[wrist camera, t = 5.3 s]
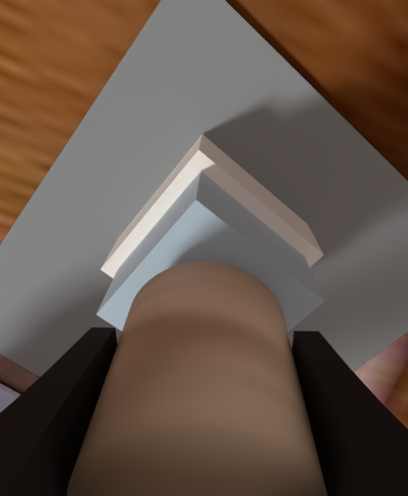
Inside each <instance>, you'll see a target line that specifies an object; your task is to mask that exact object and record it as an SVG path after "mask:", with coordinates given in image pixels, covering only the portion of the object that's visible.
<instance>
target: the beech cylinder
mask: <svg viewBox="0 0 408 496" xmlns="http://www.w3.org/2000/svg"><path fill="white" fill-rule="evenodd" d="M67 496H328V495H327V491H326V487H325V483H324V479H323V475H322V471H321V467H320V463H319V459H318V454H317V450H316V446H315V442H314V438H313V434H312V430H311V426H310V422H309V418H308V413H307V409H306V405H305V401H304V397H303V393H302V389H301V385H300V381H299V377H298V373H297V368H296V364H295V360H294V356H293V352H292V348H291V344H290V340H289V336H288V331H287V327H286V323H285V319H284V315H283V311H282V308H281V306H280V304H279V301H278V300H277V298H276V296H275V295H274V293H273V292H272V291H271V290H270V289H269V287H268V286H267V285H266V284H264V283H263V282H262V281H261V280H260V279H258V278H257V277H255V276H254V275H252V274H251V273H249V272H247V271H245V270H243V269H240V268H238V267H235V266H232V265H228V264H223V263H218V262H191V263H185V264H181V265H177V266H174V267H171V268H169V269H166V270H164V271H163V272H161V273H159V274H157V275H156V276H154V277H153V278H151V279H150V280H149V281H148V282H147V283H146V284H145V285H144V286H143V287H142V288H141V289H140V290H139V292H138V293H137V294H136V296H135V298H134V300H133V302H132V304H131V307H130V310H129V313H128V316H127V319H126V321H125V324H124V327H123V330H122V333H121V336H120V338H119V341H118V344H117V347H116V350H115V353H114V356H113V358H112V361H111V364H110V367H109V370H108V373H107V376H106V378H105V381H104V384H103V387H102V390H101V393H100V396H99V398H98V401H97V404H96V407H95V410H94V413H93V416H92V418H91V421H90V424H89V427H88V430H87V433H86V436H85V438H84V441H83V444H82V447H81V450H80V453H79V456H78V458H77V461H76V464H75V467H74V470H73V473H72V476H71V478H70V481H69V484H68V488H67Z"/></svg>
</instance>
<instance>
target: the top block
mask: <svg viewBox="0 0 408 496" xmlns="http://www.w3.org/2000/svg"><path fill="white" fill-rule="evenodd" d="M191 262H218V263H223V264H228V265H232V266H235V267H238V268H240V269H243V270H245V271H247V272H249V273H251V274H252V275H254V276H255V277H257V278H258V279H260V280H261V281H262V282H263V283H264V284H266V285H267V286H268V287H269V289H270V290H271V291H272V292H273V293H274V295H275V296H276V298H277V300H278V301H279V304H280V306H281V308H282V311H283V315H284V319H285V323H286V327H287V331H288V332H289V331H290V330H291V329H292V328H294V327H295V326H296V325H297V324H298V323H299V322H301V321H302V320H303V319H304V318H305V317H307V316H308V315H309V314H310V313H311V312H312V311H314V310H315V309H316V308H317V307H318V306H320V305H321V304H322V303H323V302H324V300H323V298H322V296H321V293H320V291H319V289H318V286H317V284H316V282H315V279H314V277H313V275H312V272H311V270H310V268H309V265H308V263H307V261H306V258H305V256H304V255H302V254H301V253H300V252H299V251H298V250H296V249H295V248H294V247H293V246H291V245H290V244H289V243H288V242H287V241H285V240H284V239H283V238H282V237H281V236H279V235H278V234H277V233H276V232H275V231H273V230H272V229H271V228H270V227H268V226H267V225H266V224H265V223H264V222H262V221H261V220H260V219H259V218H258V217H256V216H255V215H254V214H253V213H251V212H250V211H249V210H248V209H247V208H245V207H244V206H243V205H242V204H241V203H239V202H238V201H237V200H236V199H235V198H233V197H232V196H231V195H230V194H228V193H227V192H226V191H225V190H224V189H222V188H221V187H220V186H219V185H218V184H216V183H215V182H214V181H213V180H211V179H210V178H209V177H208V176H207V175H205V174H204V173H203V172H202V171H200V172H199V173H198V175H197V176H196V177H195V178H194V179H193V180H192V182H191V183H190V184H189V185H188V186H187V188H186V189H185V190H184V191H183V192H182V194H181V195H180V196H179V197H178V198H177V199H176V201H175V202H174V203H173V204H172V205H171V207H170V208H169V209H168V210H167V211H166V212H165V214H164V215H163V216H162V217H161V218H160V220H159V221H158V222H157V223H156V224H155V226H154V227H153V228H152V229H151V230H150V231H149V233H148V234H147V235H146V236H145V237H144V239H143V240H142V241H141V242H140V243H139V245H138V246H137V247H136V248H135V249H134V250H133V252H132V253H131V254H130V255H129V256H128V258H127V259H126V260H125V261H124V262H123V263H122V265H121V266H120V267H119V268H118V270H117V272H116V274H115V276H114V278H113V281H112V283H111V285H110V287H109V289H108V291H107V293H106V295H105V297H104V299H103V301H102V303H101V305H100V308H99V310H98V312H97V314H96V315H97V316H99V317H100V318H102V319H104V320H105V321H107V322H108V323H110V324H111V325H113V326H114V327H116V328H117V329H119V330H121V331H122V330H123V327H124V324H125V321H126V319H127V316H128V313H129V310H130V307H131V304H132V302H133V300H134V298H135V296H136V294H137V293H138V292H139V290H140V289H141V288H142V287H143V286H144V285H145V284H146V283H147V282H148V281H149V280H150V279H151V278H153V277H154V276H156V275H157V274H159V273H161V272H163V271H164V270H166V269H169V268H171V267H174V266H177V265H181V264H185V263H191Z"/></svg>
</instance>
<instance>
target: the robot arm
mask: <svg viewBox="0 0 408 496" xmlns="http://www.w3.org/2000/svg"><path fill="white" fill-rule="evenodd" d="M116 347H117V337H116V329H115V328H108V327H91V328H90V329H89V330H88V331H87V332H86V333H85V334H84V335H83V336H82V337H81V338H80V339H79V340H78V341H77V342H76V343H75V344H74V345H73V346H72V347H71V348H70V349H69V350H68V351H67V352H66V353H65V354H64V355H63V356H62V357H61V358H60V359H58V360H57V361H56V362H55V363H54V364H53V365H52V366H51V367H50V368H49V369H48V370H47V371H46V372H45V373H44V374H43V375H42V376H41V377H40V378H39V379H37V380H36V381H35V382H34V383H33V384H32V385H31V386H30V387H29V388H28V389H27V390H26V391H25V392H23V393H22V394H19V393H17V392H15V391H13V390H12V389H10V388H8V387H6V386H4V385H3V384H1V383H0V496H67V488H68V484H69V481H70V478H71V476H72V473H73V470H74V467H75V464H76V461H77V458H78V456H79V453H80V450H81V447H82V444H83V441H84V438H85V436H86V433H87V430H88V427H89V424H90V421H91V418H92V416H93V413H94V410H95V407H96V404H97V401H98V398H99V396H100V393H101V390H102V387H103V384H104V381H105V378H106V376H107V373H108V370H109V367H110V364H111V361H112V358H113V356H114V353H115V350H116ZM292 352H293V356H294V360H295V364H296V368H297V373H298V377H299V381H300V385H301V389H302V393H303V397H304V401H305V405H306V409H307V413H308V418H309V422H310V426H311V430H312V434H313V438H314V442H315V446H316V450H317V454H318V459H319V463H320V467H321V471H322V475H323V479H324V483H325V487H326V491H327V495H328V496H408V429H407V428H406V427H405V426H404V425H403V424H402V423H401V422H400V421H399V420H398V419H397V418H396V417H395V416H394V415H393V414H392V413H391V412H390V411H389V410H388V409H387V408H386V407H385V406H384V405H383V404H382V403H381V402H380V401H379V400H378V399H377V397H376V396H375V395H374V394H373V393H372V392H371V391H370V390H369V389H368V388H367V387H366V385H365V384H364V383H363V382H362V381H361V380H360V379H359V378H358V377H357V376H356V374H355V373H354V372H353V371H352V370H351V369H350V367H349V366H348V365H347V364H346V363H345V362H344V360H343V359H342V358H341V357H340V356H339V355H338V353H337V352H336V351H335V350H334V349H333V347H332V346H331V345H330V344H329V343H328V341H327V340H326V339H325V338H324V337H323V335H322V334H321V333H320V332H319V331H294V334H293V342H292Z"/></svg>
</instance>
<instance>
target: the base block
mask: <svg viewBox="0 0 408 496" xmlns="http://www.w3.org/2000/svg"><path fill="white" fill-rule="evenodd" d="M200 171H202V172H203V173H204V174H205V175H207V176H208V177H209V178H210V179H211V180H213V181H214V182H215V183H216V184H218V185H219V186H220V187H221V188H222V189H224V190H225V191H226V192H227V193H228V194H230V195H231V196H232V197H233V198H235V199H236V200H237V201H238V202H239V203H241V204H242V205H243V206H244V207H245V208H247V209H248V210H249V211H250V212H251V213H253V214H254V215H255V216H256V217H258V218H259V219H260V220H261V221H262V222H264V223H265V224H266V225H267V226H268V227H270V228H271V229H272V230H273V231H275V232H276V233H277V234H278V235H279V236H281V237H282V238H283V239H284V240H285V241H287V242H288V243H289V244H290V245H291V246H293V247H294V248H295V249H296V250H298V251H299V252H300V253H301V254H302V255H304V256H305V258H306V261H307V263H308V265H309V268H310V267H311V266H312V265H313V264H315V263H316V262H317V261H318V260H319V259H320V258H321V257H322V256H323V255H324V254H323V252H322V250H321V249H320V247H319V245H318V243H317V241H316V239H315V237H314V235H313V233H312V232H311V230H310V228H309V226H308V224H307V223H306V222H305V221H303V220H302V219H301V218H300V217H299V216H298V215H296V214H295V213H294V212H293V211H292V210H291V209H289V208H288V207H287V206H286V205H285V204H284V203H282V202H281V201H280V200H279V199H278V198H277V197H275V196H274V195H273V194H272V193H271V192H270V191H268V190H267V189H266V188H265V187H264V186H263V185H261V184H260V183H259V182H258V181H257V180H256V179H254V178H253V177H252V176H251V175H250V174H249V173H247V172H246V171H245V170H244V169H243V168H242V167H240V166H239V165H238V164H237V163H236V162H235V161H233V160H232V159H231V158H230V157H229V156H228V155H226V154H225V153H224V152H223V151H222V150H221V149H219V148H218V147H217V146H216V145H215V144H214V143H212V142H211V141H210V140H209V139H208V138H207V137H205V136H204V135H203V134H202V135H201V136H200V137H199V139H198V140H197V141H196V142H195V143H194V145H193V146H192V147H191V148H190V150H189V151H188V152H187V153H186V155H185V156H184V157H183V158H182V160H181V161H180V162H179V163H178V164H177V166H176V167H175V168H174V169H173V171H172V172H171V173H170V174H169V176H168V177H167V178H166V179H165V181H164V182H163V183H162V184H161V186H160V187H159V188H158V189H157V190H156V192H155V193H154V194H153V195H152V197H151V198H150V199H149V200H148V202H147V203H146V204H145V205H144V207H143V208H142V209H141V210H140V211H139V213H138V214H137V215H136V216H135V218H134V219H133V220H132V221H131V223H130V224H129V225H128V226H127V228H126V229H125V230H124V231H123V233H122V234H121V235H120V236H119V237H118V239H117V241H116V243H115V245H114V246H113V248H112V250H111V252H110V253H109V255H108V257H107V259H106V261H105V262H104V264H103V266H102V268H101V269H100V270H102V271H103V272H104V273H106V274H107V275H109V276H110V277H112V278H114V276H115V274H116V272H117V270H118V268H119V267H120V266H121V265H122V263H123V262H124V261H125V260H126V259H127V258H128V256H129V255H130V254H131V253H132V252H133V250H134V249H135V248H136V247H137V246H138V245H139V243H140V242H141V241H142V240H143V239H144V237H145V236H146V235H147V234H148V233H149V231H150V230H151V229H152V228H153V227H154V226H155V224H156V223H157V222H158V221H159V220H160V218H161V217H162V216H163V215H164V214H165V212H166V211H167V210H168V209H169V208H170V207H171V205H172V204H173V203H174V202H175V201H176V199H177V198H178V197H179V196H180V195H181V194H182V192H183V191H184V190H185V189H186V188H187V186H188V185H189V184H190V183H191V182H192V180H193V179H194V178H195V177H196V176H197V175H198V173H199V172H200Z"/></svg>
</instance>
